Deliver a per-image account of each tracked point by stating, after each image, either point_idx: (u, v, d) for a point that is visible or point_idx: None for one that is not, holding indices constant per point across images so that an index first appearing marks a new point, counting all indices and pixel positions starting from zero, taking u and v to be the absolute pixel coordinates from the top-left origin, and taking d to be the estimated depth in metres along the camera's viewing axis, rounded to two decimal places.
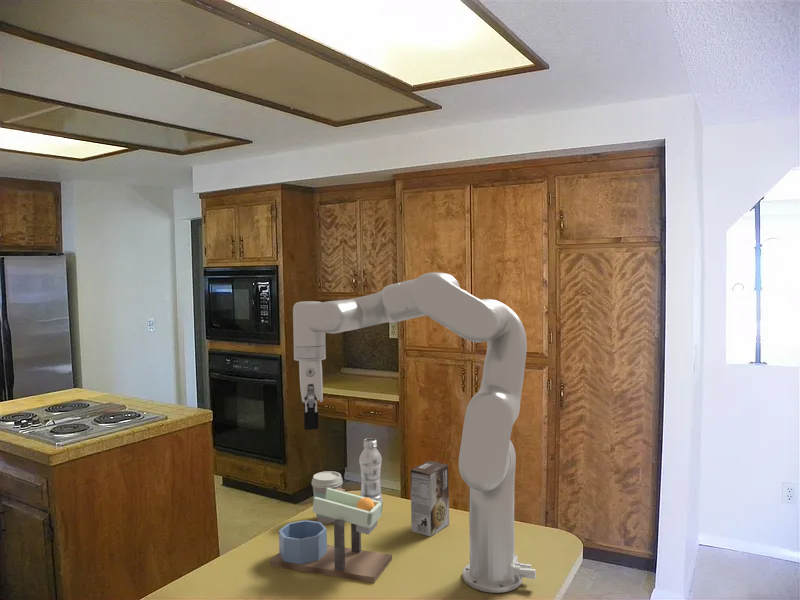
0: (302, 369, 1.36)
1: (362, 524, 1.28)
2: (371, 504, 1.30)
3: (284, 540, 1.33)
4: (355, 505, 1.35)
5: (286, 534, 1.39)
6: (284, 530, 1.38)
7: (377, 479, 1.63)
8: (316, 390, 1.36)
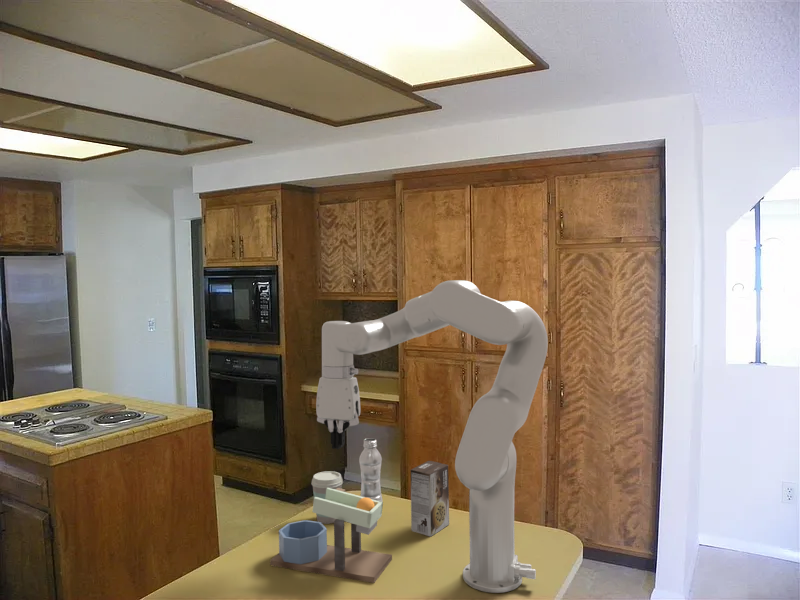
0: (350, 388, 1.39)
1: (362, 524, 1.28)
2: (371, 504, 1.30)
3: (284, 540, 1.33)
4: (355, 505, 1.35)
5: (286, 534, 1.39)
6: (284, 530, 1.38)
7: (377, 479, 1.63)
8: (359, 406, 1.42)
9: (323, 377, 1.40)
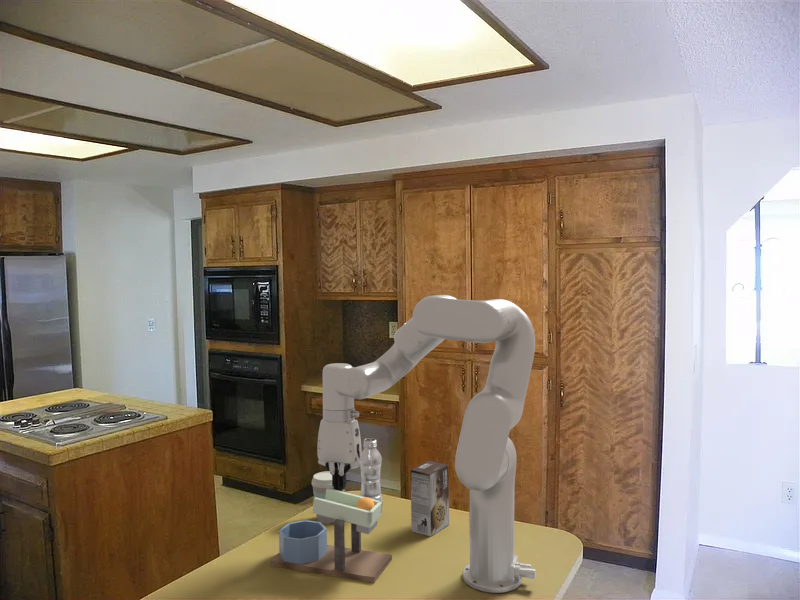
0: (351, 431, 1.39)
1: (362, 524, 1.28)
2: (371, 504, 1.30)
3: (284, 540, 1.33)
4: (355, 505, 1.35)
5: (286, 534, 1.39)
6: (284, 530, 1.38)
7: (377, 479, 1.63)
8: (360, 448, 1.42)
9: (324, 420, 1.40)
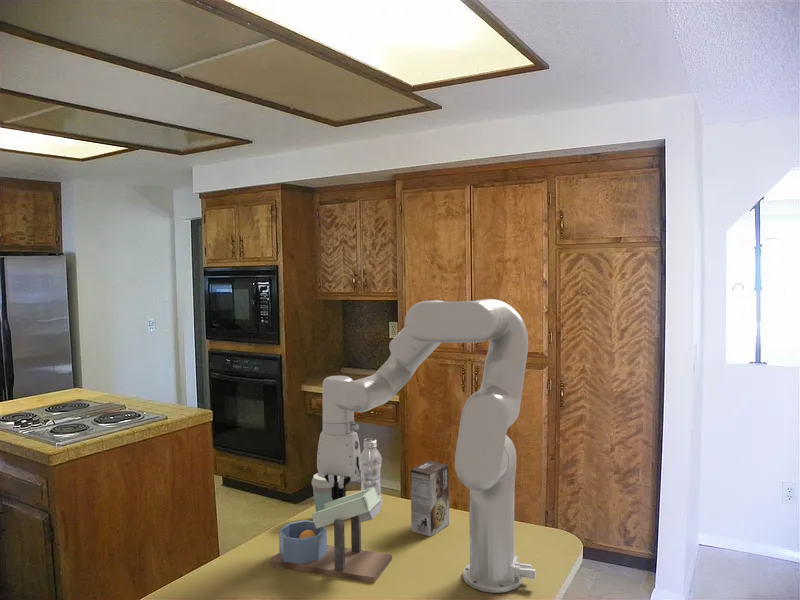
0: (351, 444, 1.39)
1: (361, 511, 1.28)
2: None
3: (284, 540, 1.33)
4: None
5: (286, 534, 1.39)
6: (284, 530, 1.38)
7: (377, 479, 1.63)
8: (359, 461, 1.42)
9: (323, 433, 1.41)
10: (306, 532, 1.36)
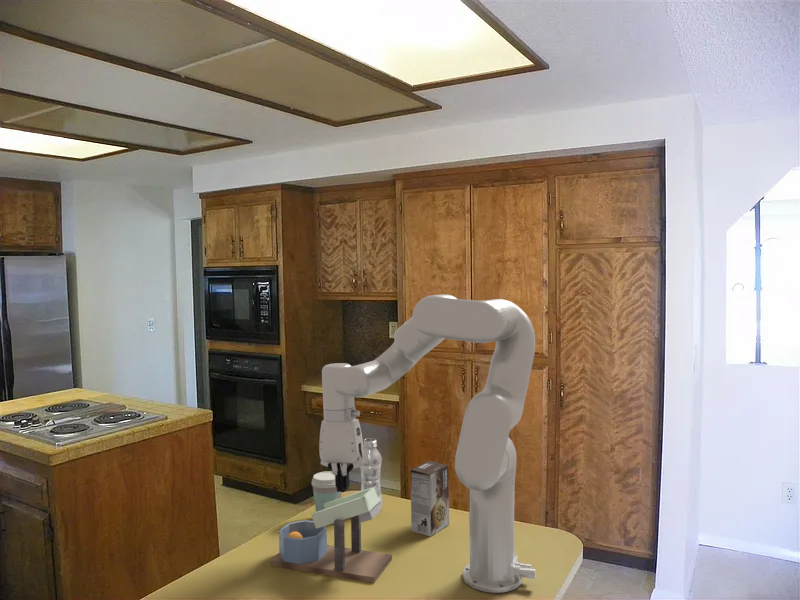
0: (353, 430, 1.39)
1: (361, 511, 1.28)
2: None
3: (284, 540, 1.33)
4: None
5: (286, 534, 1.39)
6: (284, 530, 1.38)
7: (377, 479, 1.63)
8: (362, 447, 1.42)
9: (325, 420, 1.40)
10: None
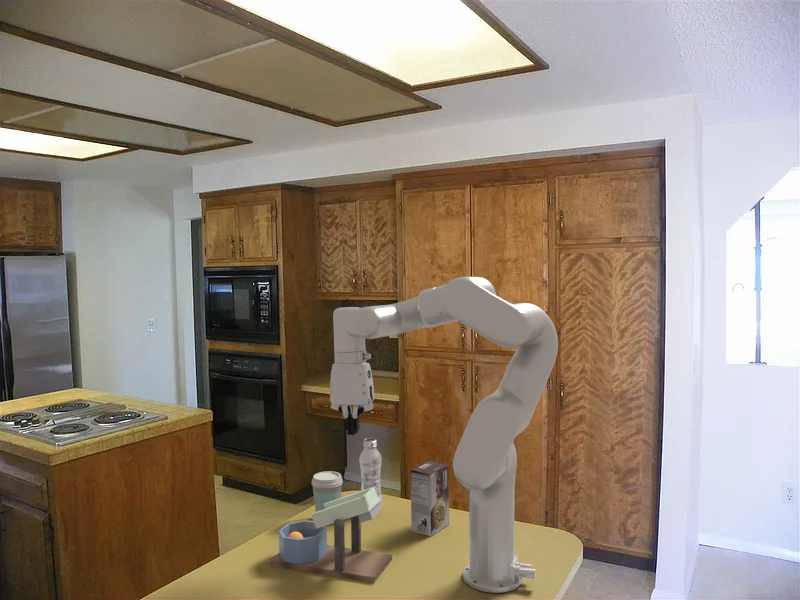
0: (364, 372, 1.39)
1: (361, 511, 1.28)
2: None
3: (284, 540, 1.33)
4: None
5: (286, 534, 1.39)
6: (284, 530, 1.38)
7: (377, 479, 1.63)
8: (372, 391, 1.42)
9: (336, 363, 1.40)
10: None
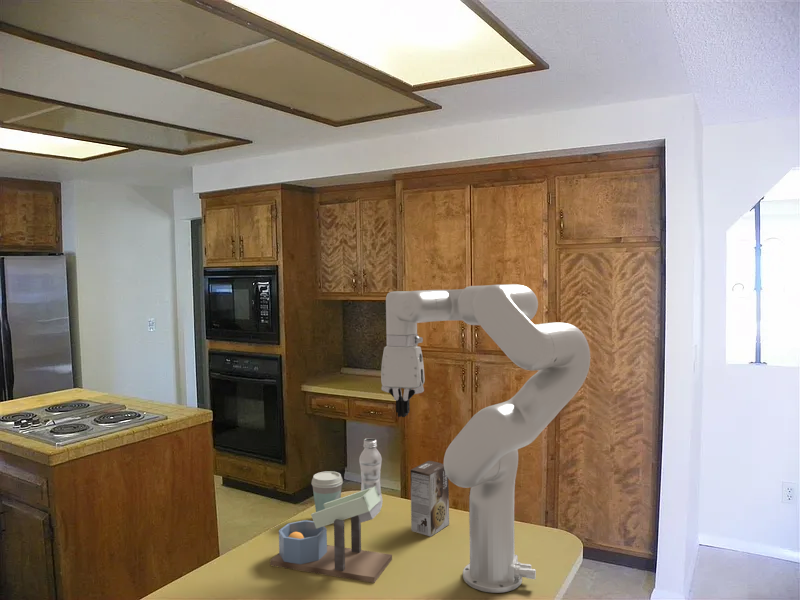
0: (416, 356, 1.41)
1: (361, 511, 1.28)
2: None
3: (284, 540, 1.33)
4: None
5: (286, 534, 1.39)
6: (284, 530, 1.38)
7: (377, 479, 1.63)
8: (423, 374, 1.44)
9: (388, 346, 1.42)
10: None
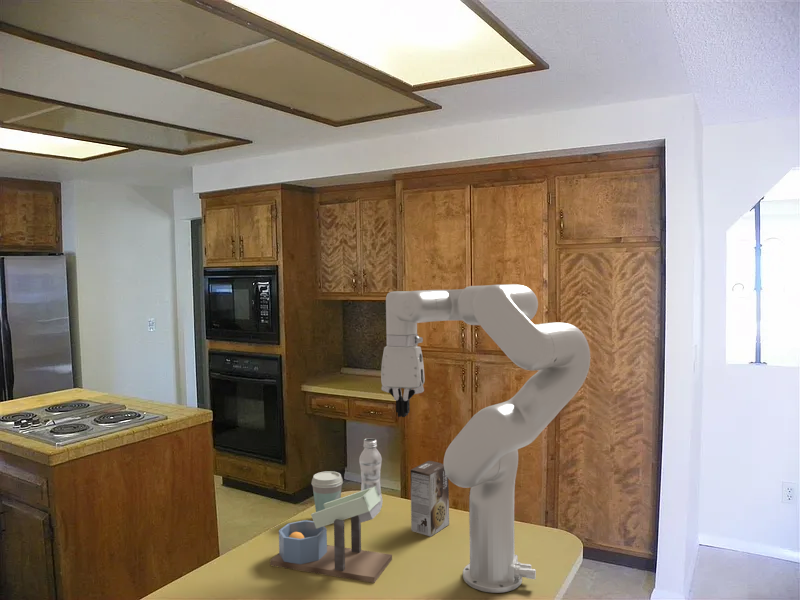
0: (416, 356, 1.41)
1: (361, 511, 1.28)
2: None
3: (284, 540, 1.33)
4: None
5: (286, 534, 1.39)
6: (284, 530, 1.38)
7: (377, 479, 1.63)
8: (423, 374, 1.44)
9: (388, 346, 1.42)
10: None
